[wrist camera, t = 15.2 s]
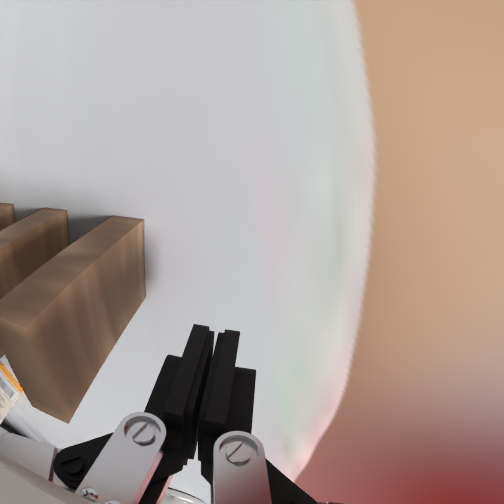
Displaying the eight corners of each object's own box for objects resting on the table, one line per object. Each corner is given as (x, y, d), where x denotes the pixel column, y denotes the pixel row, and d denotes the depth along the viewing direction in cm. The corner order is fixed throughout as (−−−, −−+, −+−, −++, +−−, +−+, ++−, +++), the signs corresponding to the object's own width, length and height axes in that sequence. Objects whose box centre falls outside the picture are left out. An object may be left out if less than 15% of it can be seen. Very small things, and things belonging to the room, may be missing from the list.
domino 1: (66, 210, 16) (-56, 287, 7) (75, 281, 18) (-16, 377, 9) (44, 207, 16) (-72, 277, 7) (54, 275, 18) (-36, 363, 9)
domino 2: (143, 219, 16) (25, 328, 7) (145, 296, 18) (68, 423, 9) (113, 215, 16) (-13, 311, 7) (117, 290, 18) (32, 406, 9)
